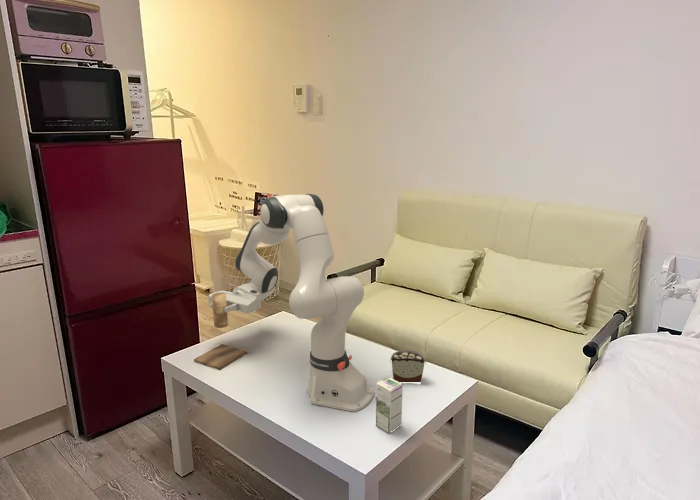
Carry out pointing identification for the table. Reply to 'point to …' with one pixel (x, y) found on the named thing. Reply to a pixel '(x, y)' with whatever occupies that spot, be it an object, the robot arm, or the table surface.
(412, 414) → the table surface
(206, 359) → the board
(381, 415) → the syrup box
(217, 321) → the oak roller
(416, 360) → the muffin
